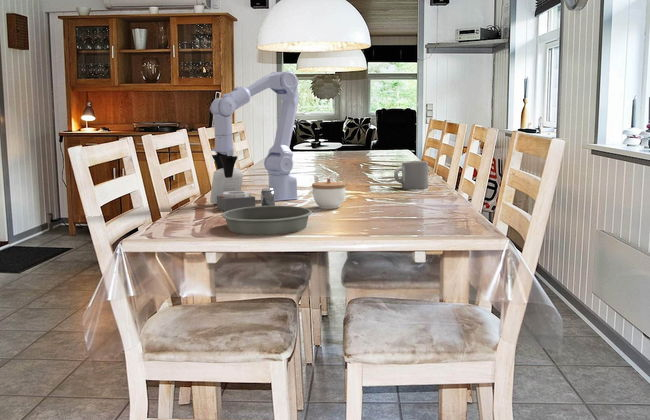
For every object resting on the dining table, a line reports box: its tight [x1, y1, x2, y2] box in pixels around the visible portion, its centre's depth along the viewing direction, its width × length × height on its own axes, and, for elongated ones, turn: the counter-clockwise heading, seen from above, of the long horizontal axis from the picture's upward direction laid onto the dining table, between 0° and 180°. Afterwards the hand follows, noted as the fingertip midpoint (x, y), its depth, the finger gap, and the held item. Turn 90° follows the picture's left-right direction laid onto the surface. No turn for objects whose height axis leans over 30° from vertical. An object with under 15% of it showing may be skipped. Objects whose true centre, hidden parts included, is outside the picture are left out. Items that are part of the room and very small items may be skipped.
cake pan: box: [221, 205, 313, 235], centre depth 195 cm, size 25×25×4 cm
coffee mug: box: [393, 160, 429, 190], centre depth 275 cm, size 13×10×10 cm
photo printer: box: [209, 167, 244, 205], centre depth 238 cm, size 10×4×12 cm, turn 124°
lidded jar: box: [311, 177, 347, 210], centre depth 228 cm, size 11×11×9 cm
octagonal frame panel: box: [216, 190, 256, 212], centre depth 229 cm, size 10×9×5 cm
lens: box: [260, 187, 276, 206], centre depth 233 cm, size 4×4×6 cm
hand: (225, 176), depth 235 cm, fingers open, 7 cm apart
